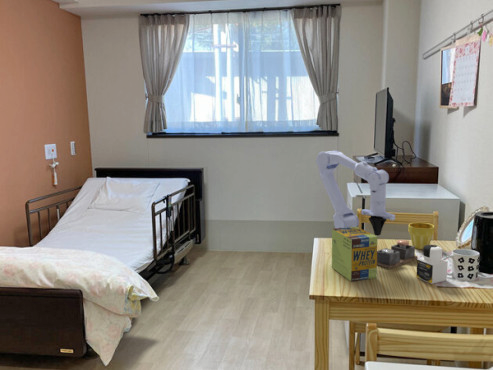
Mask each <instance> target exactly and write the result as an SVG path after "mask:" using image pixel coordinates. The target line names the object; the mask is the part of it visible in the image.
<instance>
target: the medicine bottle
mask: <svg viewBox="0 0 493 370" xmlns="http://www.w3.org/2000/svg"><path fill="white" fill-rule="evenodd" d="M416 278H417V279H419V280H422V281H424V282H426V283H429V284H431V285H434V284H438V283H441V282H446V281H447V280H448V261H447V260H445V259H443V248H442V247H441V246H439V245H436V244H430V245H426V246H424V247H423V249H422V257H419V258H418V257H417V259H416Z"/></svg>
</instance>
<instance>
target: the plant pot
mask: <svg viewBox="0 0 493 370" xmlns="http://www.w3.org/2000/svg"><path fill="white" fill-rule="evenodd" d="M407 226H408V227H407V230H408V232H407V233H408V234H409V235H410V240H411V246H414V247H415V250H417V249H418V250H423V247H424V246H426V245H431V242H432V237H433V236H434V234H435V225H434V224H432V223H428V222H421V221H420V222H416V221H415V222H410V223H409V224H408V225H407Z"/></svg>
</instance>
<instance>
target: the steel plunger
mask: <svg viewBox="0 0 493 370" xmlns="http://www.w3.org/2000/svg"><path fill="white" fill-rule="evenodd" d="M381 249H382V253H385V254H389V255H390V254H393V253H394V251H393V250H391V248H387V249H384V248H381Z"/></svg>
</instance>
